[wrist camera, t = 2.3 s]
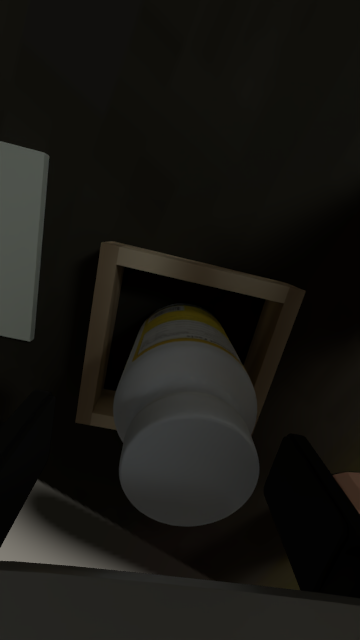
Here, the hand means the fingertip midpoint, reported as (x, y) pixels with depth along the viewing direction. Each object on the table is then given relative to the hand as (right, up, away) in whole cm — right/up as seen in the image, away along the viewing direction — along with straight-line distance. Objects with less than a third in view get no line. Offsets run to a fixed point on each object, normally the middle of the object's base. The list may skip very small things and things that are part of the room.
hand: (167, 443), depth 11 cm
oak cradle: (+1, +3, +9) cm, 10 cm away
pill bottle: (+1, +3, +9) cm, 10 cm away
